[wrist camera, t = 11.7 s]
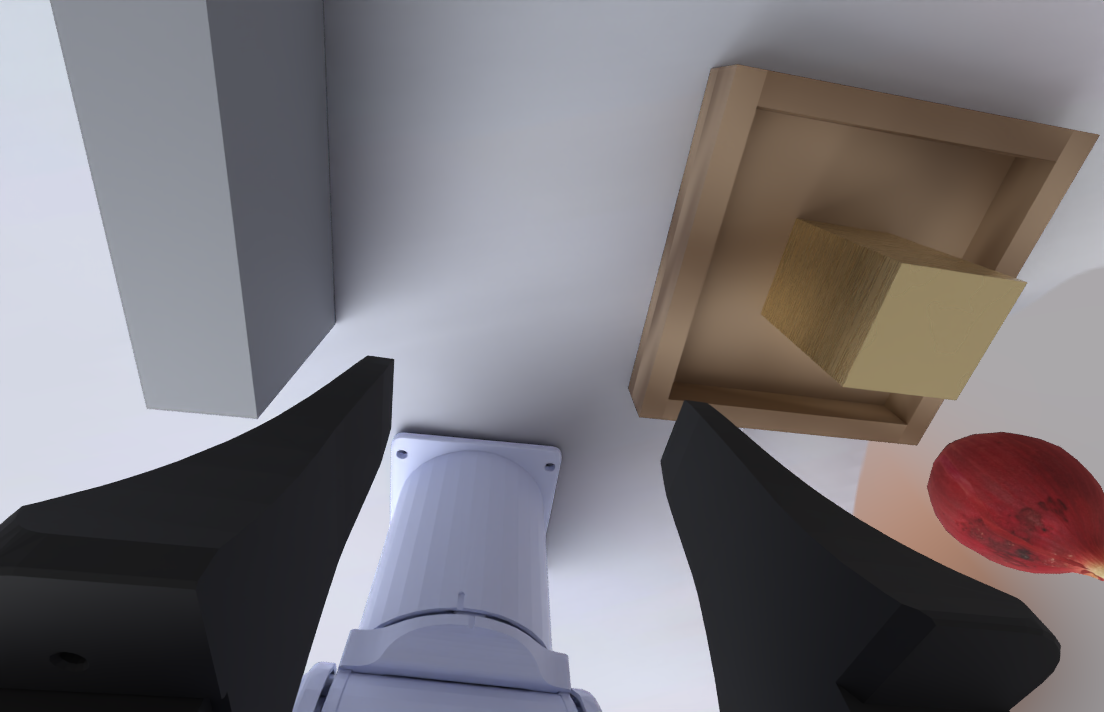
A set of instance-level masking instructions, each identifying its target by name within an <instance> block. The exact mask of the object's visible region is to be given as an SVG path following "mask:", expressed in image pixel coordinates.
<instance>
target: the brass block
mask: <svg viewBox="0 0 1104 712" xmlns="http://www.w3.org/2000/svg"><path fill="white" fill-rule="evenodd" d="M1026 284H1027V282H1025V281H1022V280H1019V279H1016V278H1014V277H1011V276H1008V275H1005V274H1002V273H1000V272H997V271H994V270H991V269H988V268H986V267H983V266H980V265H977V264H974V263H972V262H969V261H966V260H963V259H960V258H958V257H955V256H952V255H949V254H947V253H944V252H941V251H938V250H935V249H933V248H930V247H927V246H924V245H921V244H919V243H916V242H913V241H910V240H907V239H905V238H902V237H899V236H896V235H893V234H891V233H885V232H879V231H873V230H866V229H860V228H854V227H848V226H842V225H836V224H829V223H823V222H817V221H811V220H805V219H798V218H796V220H795V223H794V225H793V228H792V231H791V233H790V236H789V239H788V241H787V244H786V247H785V250H784V252H783V255H782V258H781V260H780V263H779V266H778V268H777V271H776V274H775V277H774V279H773V282H772V285H771V287H770V290H769V293H768V295H767V298H766V301H765V304H764V306H763V309H762V312H761V315H762V316H763V317H764V318H765V319H767V320H768V321H769V322H770V323H771V324H772V325H773V326H775V327H776V328H777V329H778V330H779V331H780V332H781V333H782V334H784V335H785V336H786V337H787V338H788V339H789V340H790V341H791V342H793V343H794V344H795V345H796V346H797V347H798V348H799V349H800V350H802V351H803V352H804V353H805V354H806V355H807V356H808V357H810V358H811V359H812V360H813V361H814V362H815V363H816V364H817V365H819V366H820V367H821V368H822V369H823V370H824V371H825V372H826V373H828V374H829V375H830V376H831V377H832V378H833V379H834V380H835V381H837V382H838V383H839V384H840V385H841V386H842V387H849V388H857V389H865V390H874V391H882V392H891V393H899V394H908V395H916V396H924V397H933V398H941V399H950V400H957V398H958V396H959V395H960V393H961V391H962V390H963V388H964V386H965V385H966V383H967V382H968V380H969V378H970V377H971V375H972V373H973V371H974V370H975V368H976V367H977V365H978V363H979V362H980V360H981V358H982V357H983V355H984V353H985V352H986V350H987V349H988V347H989V345H990V344H991V341H992V340H993V338H994V337H995V335H996V334H997V332H998V330H999V329H1000V327H1001V325H1002V324H1003V322H1004V320H1005V319H1006V317H1007V315H1008V314H1009V312H1010V311H1011V309H1012V307H1013V306H1014V304H1015V302H1016V301H1017V299H1018V297H1019V296H1020V294H1021V292H1022V291H1023V289H1024V287H1025V286H1026Z"/></svg>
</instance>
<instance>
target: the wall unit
mask: <svg viewBox="0 0 1104 712" xmlns="http://www.w3.org/2000/svg"><path fill="white" fill-rule="evenodd" d="M50 3H51V7H52V11H53V15H54V20H55V24H56V28H57V32H58V36H59V41H60V45H61V49H62V53H63V58H64V62H65V66H66V70H67V74H68V79H69V83H70V87H71V91H72V95H73V100H74V104H75V108H76V112H77V117H78V121H79V125H80V129H81V133H82V138H83V142H84V146H85V150H86V155H87V159H88V163H89V167H90V171H91V176H92V180H93V184H94V188H95V192H96V197H97V201H98V205H99V209H100V214H101V218H102V222H103V226H104V230H105V235H106V239H107V243H108V247H109V251H110V256H111V260H112V264H113V268H114V273H115V277H116V281H117V285H118V289H119V294H120V298H121V302H122V306H123V311H124V315H125V319H126V323H127V327H128V332H129V336H130V340H131V344H132V348H133V353H134V357H135V361H136V365H137V370H138V374H139V378H140V382H141V386H142V391H143V395H144V399H145V403H146V407H147V409H156V410H167V411H178V412H188V413H199V414H210V415H221V416H232V417H242V418H253V419H258V418H259V416H260V415H261V414H262V413H263V411H264V410H265V409H266V408H267V407H268V405H269V404H270V403H271V402H272V401H273V399H274V398H275V397H276V396H277V394H278V393H279V392H280V391H281V390H282V388H283V387H284V386H285V385H286V384H287V382H288V381H289V380H290V379H291V377H292V376H293V375H294V374H295V373H296V371H297V370H298V369H299V368H300V367H301V365H302V364H303V363H304V362H305V360H306V359H307V358H308V357H309V356H310V354H311V353H312V352H313V351H314V350H315V348H316V347H317V346H318V345H319V343H320V342H321V341H322V340H323V339H324V337H325V336H326V335H327V334H328V333H329V331H330V330H331V329H332V328H333V326H334V325H335V308H334V282H333V255H332V228H331V201H330V175H329V148H328V121H327V95H326V68H325V41H324V14H323V0H50Z"/></svg>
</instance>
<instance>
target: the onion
mask: <svg viewBox="0 0 1104 712" xmlns="http://www.w3.org/2000/svg"><path fill="white" fill-rule="evenodd" d="M927 489H928V492H929V496H930V500H931V503H932V506H933V509H934V512H935V514H936V516H937V518H938V519H939V521H940V522H941V523H942V525H943V527H944V528H945V529H946V531H947V532H948V533H950V534H951V535H952V536H953V537H954V538H955V539H957V540H958V541H959V542H960V543H961V544H963V545H965V546H966V547H968V548H970V549H972V550H974V551H976V552H977V553H979V554H981V555H982V556H984V557H986V558H987V559H989V560H991V561H994V562H996V563H999V564H1001V565H1003V566H1006V567H1010V568H1013V569H1017V570H1020V571H1025V572H1031V573H1045V574H1048V573H1049V574H1061V573H1070V572H1074V573H1079V574H1083V575H1088V576H1091V577H1094V578H1097V579H1099V580H1102V581H1104V493H1103V490H1102V488H1101V486H1100V485H1099V483H1098V482H1097V481H1096V479H1095V478H1094V477H1093V476H1092V474H1091V473H1090V472H1089V471H1088V470H1087V469H1086V468H1085V467H1084V466H1083V465H1082V464H1081V463H1080V462H1079V461H1078V460H1077V459H1075V458H1074V457H1073V456H1071V455H1070V454H1069V453H1068V452H1066V451H1065V450H1064V449H1062V448H1061V447H1059V446H1056V445H1054V444H1051V443H1049V442H1046V441H1044V440H1041V439H1038V438H1033V437H1029V436H1024V435H1019V434H1013V433H1005V432H997V433H985V434H974V435H970V436H967V437H964V438H961V439H959V440H955V441H954V442H952V443H949V444H948V445H947V446H946V447H945V448H944V449H943V451H942V452H941V453H940V454H939V456H938V457H937V458H936V460H935V462H934V463H933V467H932V470H931V474H930V478H929V481H928V485H927Z"/></svg>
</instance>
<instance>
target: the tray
mask: <svg viewBox="0 0 1104 712" xmlns="http://www.w3.org/2000/svg"><path fill="white" fill-rule="evenodd" d="M1099 136H1100V135H1098V134H1092V133H1087V132H1082V131H1077V130H1072V129H1067V128H1062V127H1056V126H1051V125H1046V124H1041V123H1036V122H1031V121H1026V120H1021V119H1015V118H1010V117H1005V116H1000V115H995V114H990V113H985V112H980V111H974V110H969V109H964V108H959V107H954V106H949V105H944V104H939V103H933V102H928V101H923V100H918V99H913V98H908V97H903V96H897V95H892V94H887V93H882V92H877V91H872V90H867V89H862V88H856V87H851V86H846V85H841V84H836V83H831V82H826V81H821V80H815V79H810V78H805V77H800V76H795V75H790V74H785V73H780V72H774V71H769V70H764V69H759V68H754V67H749V66H744V65H738V64H736V65H730V66H724V67H718V68H712V69H711V70H710V74H709V78H708V82H707V86H706V90H705V93H704V97H703V101H702V105H701V109H700V113H699V117H698V120H697V124H696V128H695V132H694V136H693V140H692V144H691V147H690V151H689V155H688V159H687V163H686V167H685V171H684V174H683V178H682V182H681V186H680V190H679V194H678V198H677V201H676V205H675V209H674V213H673V217H672V221H671V225H670V228H669V232H668V236H667V240H666V244H665V248H664V252H663V255H662V259H661V263H660V267H659V271H658V275H657V279H656V282H655V286H654V290H653V294H652V298H651V302H650V306H649V309H648V313H647V317H646V321H645V325H644V329H643V333H642V336H641V340H640V344H639V348H638V352H637V356H636V360H635V363H634V367H633V371H632V375H631V379H630V383H629V387H628V389H629V392H630V394H631V397H632V400H633V402H634V405H635V408H636V410H637V413H638V415H639V417H643V418H653V419H663V420H672V421H676V420H677V417H678V415H679V412H680V410H681V407H682V404H683V402H684V400H690V401H697V402H704V403H708V404H709V405H711V406H712V407H714V408H715V409H716V410H717V411H719V412H720V413H721V414H722V415H724V416H725V417H726V418H727V419H728V420H730V421H731V422H732V423H733V424H734V425H735V426H737V427H741V428H751V429H761V430H771V431H780V432H790V433H800V434H810V435H820V436H829V437H839V438H849V439H859V440H869V441H878V442H888V443H898V444H908V445H918V443H919V441H920V440H921V438H922V436H923V435H924V433H925V431H926V429H927V428H928V426H929V424H930V423H931V421H932V419H933V418H934V416H935V414H936V412H937V411H938V409H939V407H940V406H941V404H942V402H943V401H944V399H941V398H933V397H924V396H916V395H908V394H899V393H891V392H882V391H874V390H865V389H857V388H849V387H842V386H841V385H840V384H839V383H838V382H837V381H835V380H834V379H833V378H832V377H831V376H830V375H829V374H828V373H826V372H825V371H824V370H823V369H822V368H821V367H820V366H819V365H817V364H816V363H815V362H814V361H813V360H812V359H811V358H810V357H808V356H807V355H806V354H805V353H804V352H803V351H802V350H800V349H799V348H798V347H797V346H796V345H795V344H794V343H793V342H791V341H790V340H789V339H788V338H787V337H786V336H785V335H784V334H782V333H781V332H780V331H779V330H778V329H777V328H776V327H775V326H773V325H772V324H771V323H770V322H769V321H768V320H767V319H765V318H764V317H763V316H762V315H761V312H762V309H763V306H764V304H765V301H766V298H767V295H768V293H769V290H770V287H771V285H772V282H773V279H774V277H775V274H776V271H777V268H778V266H779V263H780V260H781V258H782V255H783V252H784V250H785V247H786V244H787V241H788V239H789V236H790V233H791V231H792V228H793V225H794V223H795V220H796V218H798V219H805V220H811V221H817V222H823V223H829V224H836V225H842V226H848V227H854V228H860V229H866V230H873V231H879V232H885V233H891V234H893V235H896V236H899V237H902V238H905V239H907V240H910V241H913V242H916V243H919V244H921V245H924V246H927V247H930V248H933V249H935V250H938V251H941V252H944V253H947V254H949V255H952V256H955V257H958V258H960V259H963V260H966V261H969V262H972V263H974V264H977V265H980V266H983V267H986V268H988V269H991V270H994V271H997V272H1000V273H1002V274H1005V275H1008V276H1011V277H1014V278H1016V277H1017V275H1018V273H1019V272H1020V270H1021V268H1022V266H1023V265H1024V263H1025V261H1026V260H1027V258H1028V256H1029V255H1030V253H1031V251H1032V249H1033V248H1034V246H1035V244H1036V243H1037V241H1038V239H1039V238H1040V236H1041V234H1042V232H1043V231H1044V229H1045V227H1046V226H1047V224H1048V222H1049V221H1050V219H1051V217H1052V216H1053V214H1054V212H1055V210H1056V209H1057V207H1058V205H1059V204H1060V202H1061V200H1062V199H1063V197H1064V195H1065V193H1066V192H1067V190H1068V188H1069V187H1070V185H1071V183H1072V182H1073V180H1074V178H1075V176H1076V175H1077V173H1078V171H1079V170H1080V168H1081V166H1082V165H1083V163H1084V161H1085V159H1086V158H1087V156H1088V154H1089V153H1090V151H1091V149H1092V148H1093V146H1094V144H1095V143H1096V141H1097V139H1098V137H1099Z"/></svg>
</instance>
